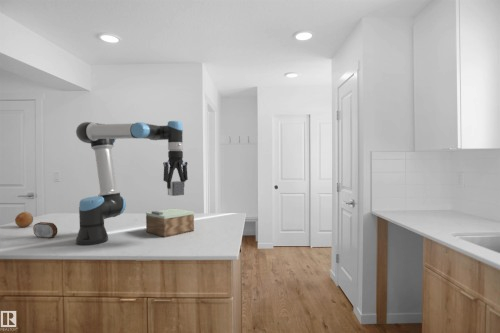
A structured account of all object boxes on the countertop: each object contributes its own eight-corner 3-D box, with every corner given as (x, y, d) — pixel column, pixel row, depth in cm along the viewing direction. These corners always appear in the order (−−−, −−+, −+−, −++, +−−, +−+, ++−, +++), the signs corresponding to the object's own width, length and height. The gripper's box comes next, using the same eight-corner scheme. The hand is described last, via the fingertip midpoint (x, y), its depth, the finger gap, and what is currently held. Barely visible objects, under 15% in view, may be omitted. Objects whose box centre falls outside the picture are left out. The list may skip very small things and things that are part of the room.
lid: (164, 219, 172) (164, 214, 172) (145, 215, 186) (145, 210, 186) (193, 214, 187) (193, 209, 187) (174, 210, 200) (174, 206, 200)
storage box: (164, 237, 172) (164, 219, 172) (146, 232, 186) (146, 215, 186) (193, 231, 187) (193, 214, 187) (175, 226, 201) (174, 211, 200)
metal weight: (174, 195, 160) (174, 182, 160) (167, 195, 164) (167, 181, 164) (184, 194, 165) (183, 181, 164) (177, 194, 169) (177, 181, 169)
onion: (17, 226, 207) (16, 211, 207) (34, 225, 212) (34, 210, 211) (13, 229, 199) (12, 213, 198) (31, 227, 203) (31, 212, 203)
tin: (58, 237, 175) (57, 222, 175) (53, 238, 172) (52, 223, 172) (37, 236, 179) (37, 221, 179) (32, 237, 176) (31, 222, 176)
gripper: (163, 150, 154) (163, 196, 155) (194, 150, 168) (194, 193, 169) (155, 150, 160) (156, 195, 160) (186, 151, 173) (186, 192, 174)
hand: (176, 194), depth 164 cm, fingers closed on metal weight, 6 cm apart
